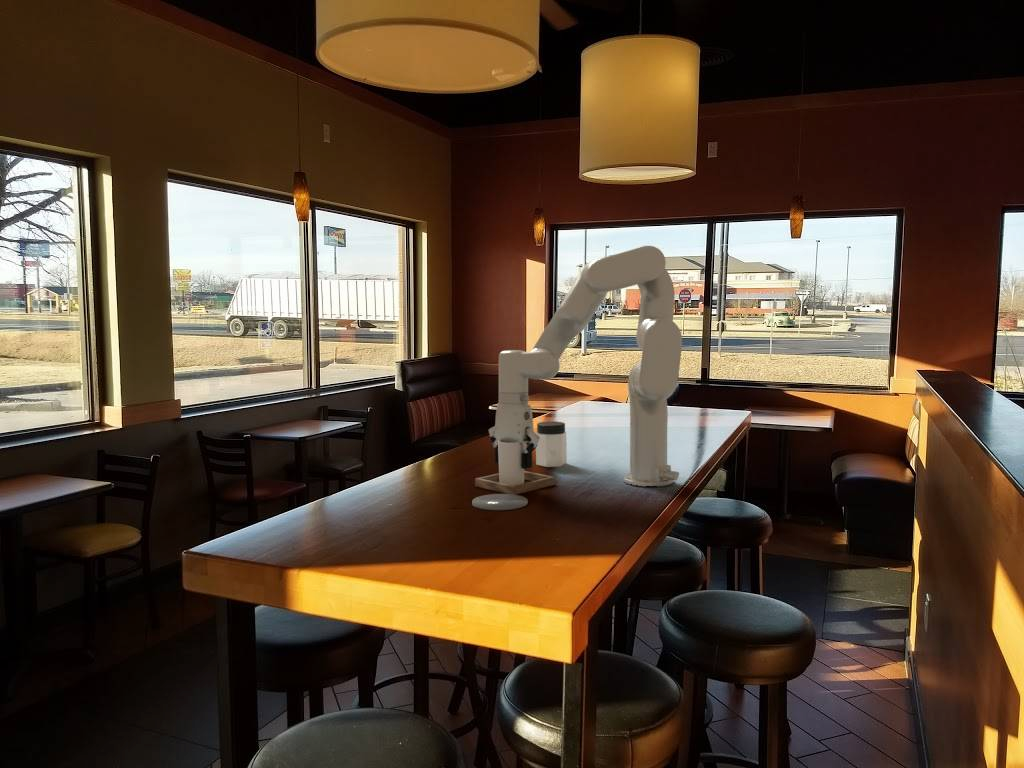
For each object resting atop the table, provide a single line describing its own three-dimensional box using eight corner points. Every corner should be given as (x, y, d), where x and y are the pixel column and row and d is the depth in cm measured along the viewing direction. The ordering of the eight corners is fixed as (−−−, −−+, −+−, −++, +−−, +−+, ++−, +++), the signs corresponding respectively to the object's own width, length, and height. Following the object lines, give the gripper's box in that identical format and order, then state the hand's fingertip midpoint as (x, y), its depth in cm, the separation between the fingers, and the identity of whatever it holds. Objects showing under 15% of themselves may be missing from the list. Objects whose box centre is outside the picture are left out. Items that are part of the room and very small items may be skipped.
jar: (538, 467, 218) (538, 426, 217) (533, 462, 226) (533, 421, 225) (569, 466, 219) (569, 425, 218) (563, 460, 227) (563, 420, 226)
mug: (516, 491, 191) (516, 443, 189) (493, 488, 194) (492, 441, 193) (535, 482, 199) (535, 437, 198) (513, 480, 203) (512, 435, 202)
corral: (554, 484, 197) (554, 476, 197) (513, 495, 186) (513, 487, 186) (516, 476, 207) (516, 469, 207) (475, 486, 196) (474, 478, 196)
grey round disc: (539, 502, 179) (539, 500, 179) (499, 513, 170) (499, 511, 170) (500, 493, 188) (500, 491, 188) (460, 503, 179) (460, 501, 179)
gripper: (548, 400, 191) (548, 468, 193) (500, 394, 203) (500, 458, 205) (527, 403, 186) (527, 472, 187) (479, 397, 198) (479, 462, 200)
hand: (513, 465), depth 196 cm, fingers open, 9 cm apart
